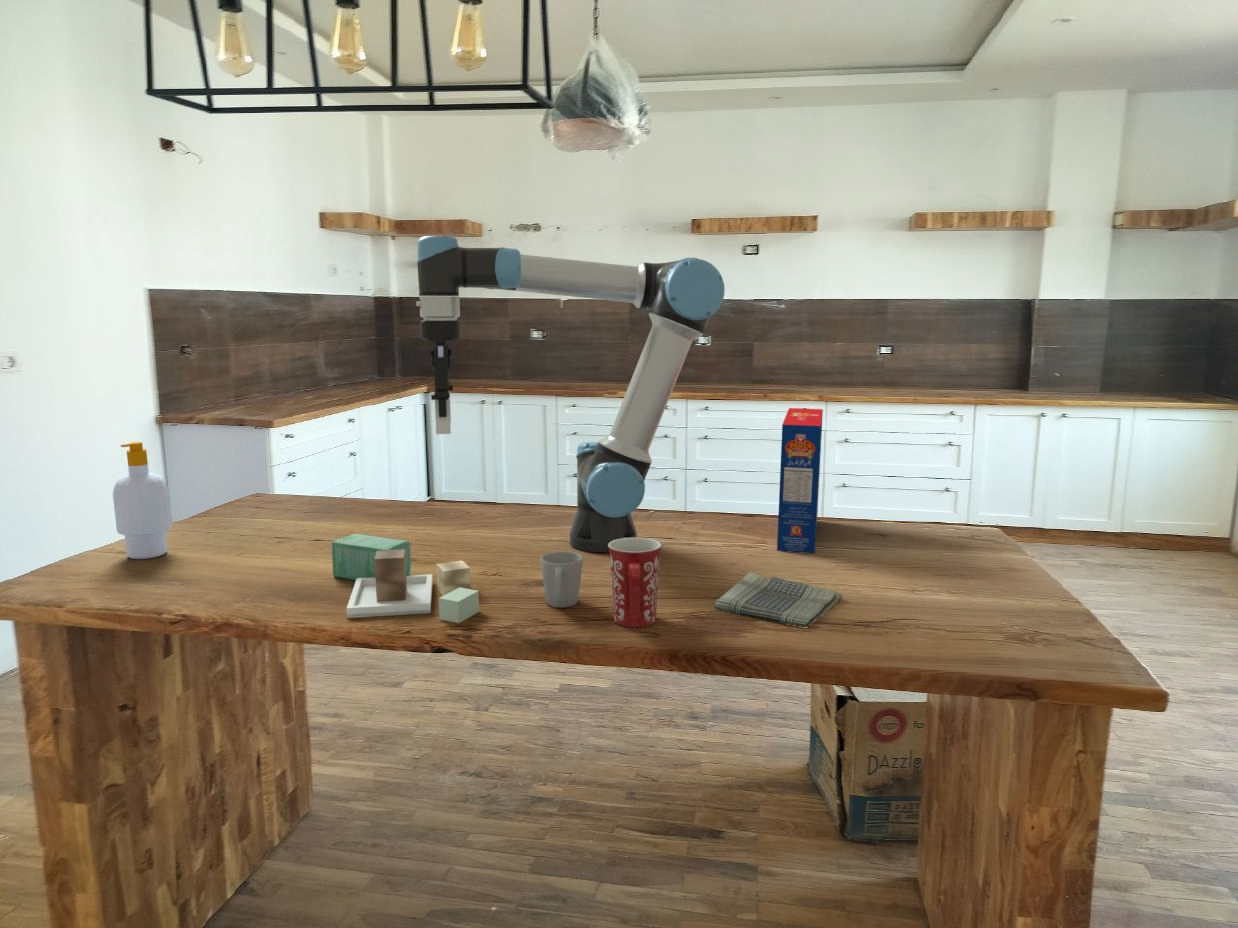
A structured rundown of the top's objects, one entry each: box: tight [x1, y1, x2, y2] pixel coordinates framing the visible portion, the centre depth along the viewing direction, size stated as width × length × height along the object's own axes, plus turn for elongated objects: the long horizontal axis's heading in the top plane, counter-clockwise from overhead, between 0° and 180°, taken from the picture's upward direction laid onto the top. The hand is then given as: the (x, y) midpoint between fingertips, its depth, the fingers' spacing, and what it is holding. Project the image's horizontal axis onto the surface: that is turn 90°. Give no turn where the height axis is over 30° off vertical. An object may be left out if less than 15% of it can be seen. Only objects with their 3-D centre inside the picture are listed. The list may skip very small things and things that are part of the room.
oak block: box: [435, 560, 471, 596], centre depth 160 cm, size 5×5×5 cm
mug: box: [608, 537, 663, 628], centre depth 143 cm, size 13×9×14 cm
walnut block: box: [375, 550, 407, 602], centre depth 155 cm, size 5×5×8 cm
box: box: [331, 533, 412, 581], centre depth 168 cm, size 7×14×8 cm, turn 69°
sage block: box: [438, 588, 480, 624], centre depth 148 cm, size 6×4×4 cm, turn 155°
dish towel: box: [713, 572, 843, 627], centre depth 155 cm, size 19×18×3 cm
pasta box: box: [776, 407, 824, 554], centre depth 196 cm, size 28×8×28 cm, turn 166°
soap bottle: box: [112, 441, 173, 560], centre depth 179 cm, size 10×10×24 cm
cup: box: [540, 551, 584, 609], centre depth 153 cm, size 8×10×8 cm
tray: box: [346, 573, 434, 619], centre depth 155 cm, size 14×16×2 cm
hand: (443, 428), depth 168 cm, fingers open, 13 cm apart
